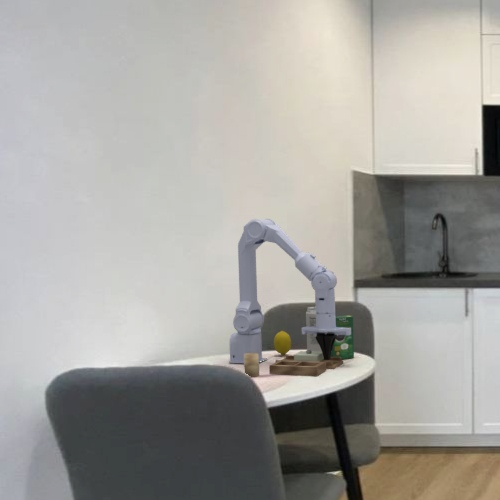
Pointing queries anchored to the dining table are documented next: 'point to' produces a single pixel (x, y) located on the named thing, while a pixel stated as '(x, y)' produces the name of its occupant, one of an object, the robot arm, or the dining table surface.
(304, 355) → the lid
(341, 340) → the coffee box
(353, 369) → the dining table surface
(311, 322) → the energy drink can
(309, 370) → the socket board
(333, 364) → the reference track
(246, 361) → the oak peg
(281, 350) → the lemon
